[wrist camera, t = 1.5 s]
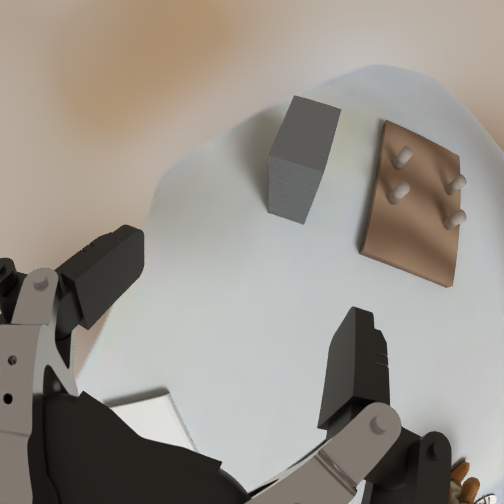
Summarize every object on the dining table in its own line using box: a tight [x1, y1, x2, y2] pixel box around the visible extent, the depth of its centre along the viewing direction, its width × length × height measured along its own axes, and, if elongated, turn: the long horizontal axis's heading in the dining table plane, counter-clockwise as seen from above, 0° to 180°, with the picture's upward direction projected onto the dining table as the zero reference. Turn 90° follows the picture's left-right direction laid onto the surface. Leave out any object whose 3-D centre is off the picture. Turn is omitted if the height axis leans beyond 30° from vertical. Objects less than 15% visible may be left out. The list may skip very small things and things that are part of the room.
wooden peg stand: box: [359, 120, 466, 288], centre depth 24 cm, size 17×11×4 cm, turn 160°
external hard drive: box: [109, 393, 200, 454], centre depth 21 cm, size 2×8×12 cm
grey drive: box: [268, 95, 341, 225], centre depth 22 cm, size 6×4×10 cm, turn 160°
